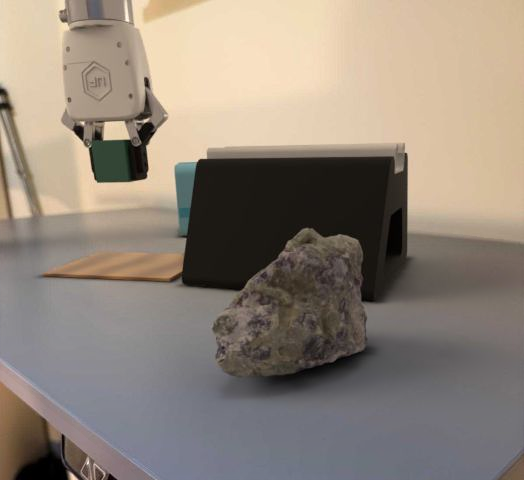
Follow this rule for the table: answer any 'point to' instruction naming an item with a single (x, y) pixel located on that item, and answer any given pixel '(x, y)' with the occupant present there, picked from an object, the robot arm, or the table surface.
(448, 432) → the table surface
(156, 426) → the table surface
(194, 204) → the device stand
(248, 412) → the table surface
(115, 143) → the dark green block
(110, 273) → the wooden board
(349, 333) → the mineral rock
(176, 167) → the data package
